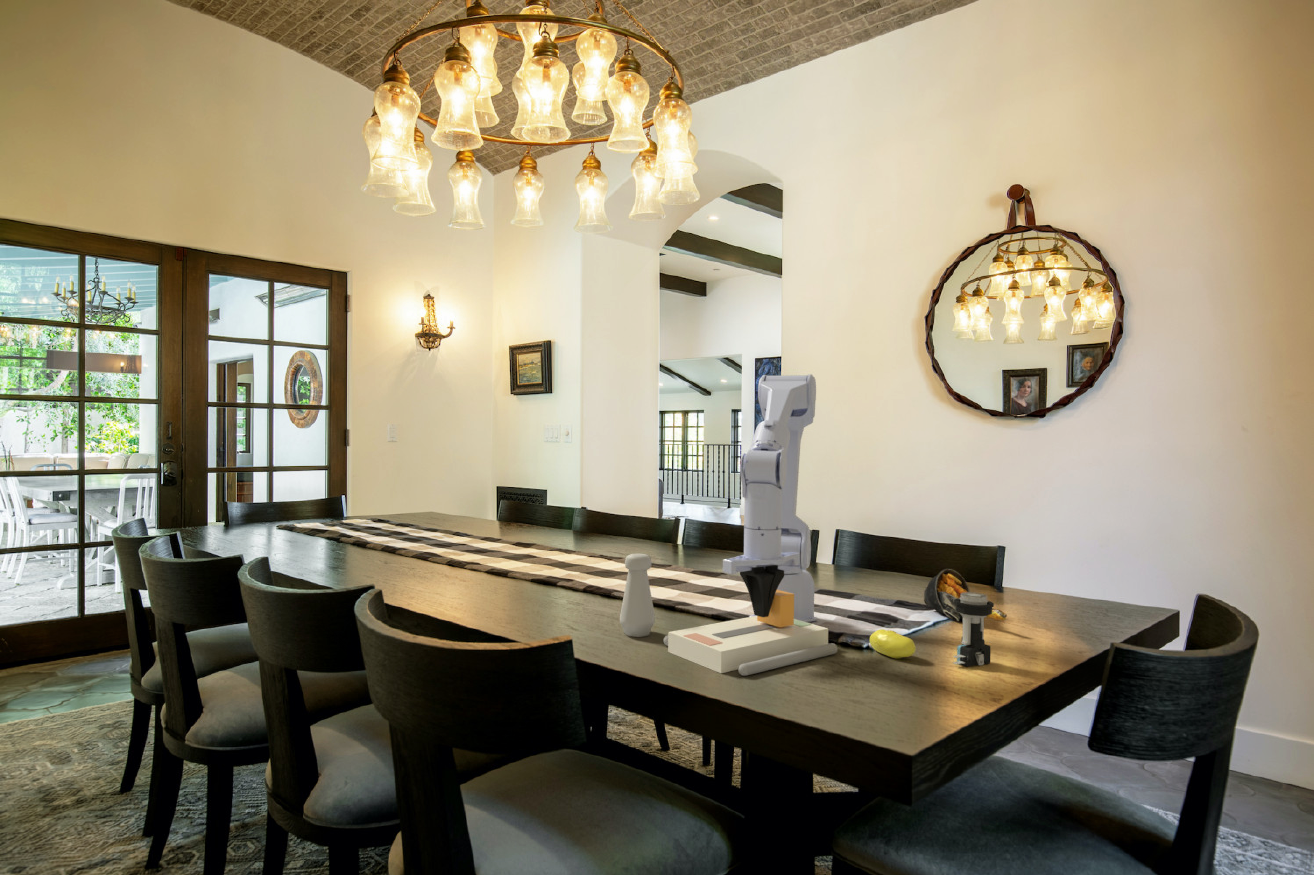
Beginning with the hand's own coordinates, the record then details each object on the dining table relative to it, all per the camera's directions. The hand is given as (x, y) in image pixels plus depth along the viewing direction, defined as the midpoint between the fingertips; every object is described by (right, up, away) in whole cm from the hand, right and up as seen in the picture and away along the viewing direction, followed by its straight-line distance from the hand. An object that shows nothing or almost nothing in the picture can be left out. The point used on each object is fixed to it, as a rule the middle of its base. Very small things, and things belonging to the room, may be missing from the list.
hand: (761, 615), depth 115 cm
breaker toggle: (+2, -1, +2) cm, 3 cm away
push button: (+29, -6, -7) cm, 31 cm away
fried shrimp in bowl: (+39, -6, +19) cm, 44 cm away
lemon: (+19, -6, -3) cm, 20 cm away
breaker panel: (-2, -5, -1) cm, 6 cm away
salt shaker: (-19, -5, +7) cm, 21 cm away
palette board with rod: (-2, -5, -1) cm, 6 cm away
